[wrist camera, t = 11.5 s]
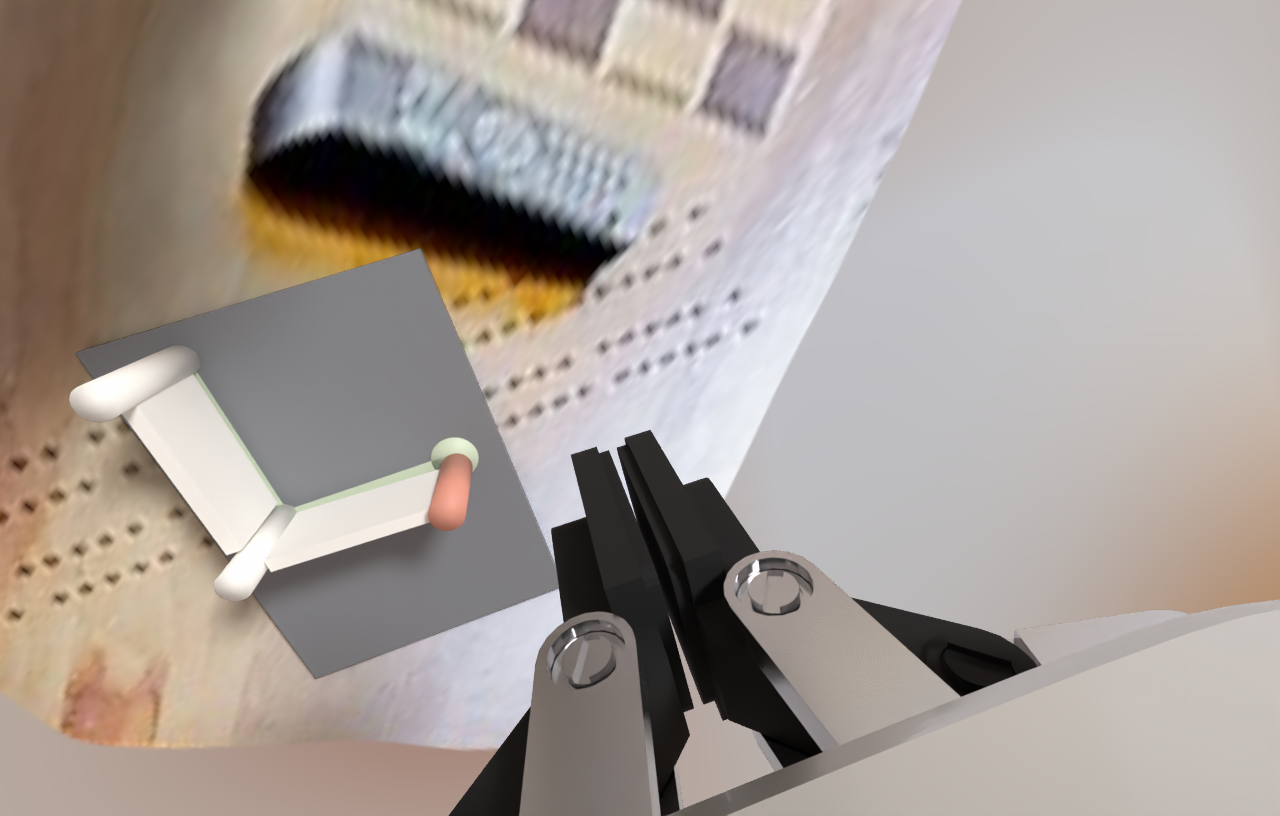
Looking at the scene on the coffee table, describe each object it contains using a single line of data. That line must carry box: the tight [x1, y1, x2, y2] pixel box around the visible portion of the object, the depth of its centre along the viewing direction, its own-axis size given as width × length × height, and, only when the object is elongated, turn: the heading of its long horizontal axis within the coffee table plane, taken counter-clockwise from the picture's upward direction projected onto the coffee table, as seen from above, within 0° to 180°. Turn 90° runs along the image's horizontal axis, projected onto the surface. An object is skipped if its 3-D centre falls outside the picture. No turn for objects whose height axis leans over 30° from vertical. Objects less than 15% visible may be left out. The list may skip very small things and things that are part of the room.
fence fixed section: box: [69, 345, 297, 601], centre depth 29 cm, size 13×2×7 cm, turn 16°
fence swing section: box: [264, 453, 473, 572], centre depth 32 cm, size 11×2×6 cm, turn 104°
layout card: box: [75, 248, 559, 678], centre depth 36 cm, size 26×19×1 cm
